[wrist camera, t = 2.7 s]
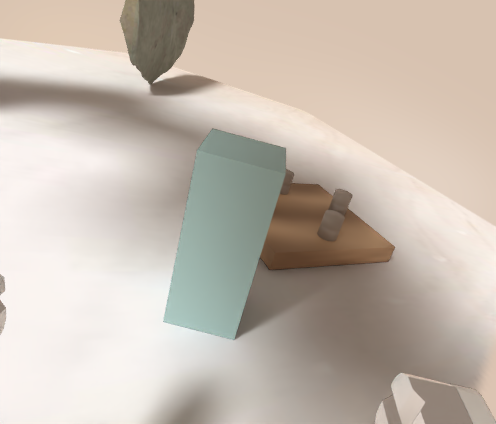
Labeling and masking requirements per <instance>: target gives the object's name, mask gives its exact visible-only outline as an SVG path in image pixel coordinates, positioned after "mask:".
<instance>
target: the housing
mask: <svg viewBox="0 0 496 424" xmlns="http://www.w3.org/2000/svg"><path fill="white" fill-rule="evenodd" d="M293 176H294V173H293V172H291V171H289V170H286V174H285V178H284V181H283V184H282V187H281V190H280V194H279V197H278V200H277V203H276V207H275V210H274V213H273V216H272V220H271V223H270V226H269V229H268V232H267V236H266V239H265V242H264V245H263V249H262V252H261V255H260V258H261V259H262V260H263V262H264V263H265V264H266V266H267V267H268V268H269V270H276V269H290V268H304V267H318V266H332V265H346V264H360V263H374V262H388V261H389V259H390V257H391V255H392V253H393V251H394V249H395V247H394V246H393V245H392V244H391V243H390V242H388V241H387V240H386V239H385V238H383V237H382V236H381V235H380V234H379V233H377V232H376V231H375V230H374V229H372V228H371V227H370V226H369V225H367V224H366V223H365V222H364V221H363V220H361V219H360V218H359V217H358V216H356V215H355V214H354V213H353V212H352V211H350V210H349V209H348V205H349V203H350V200H351V198H352V194H351V193H349V192H348V191H345V190H342V189H336V190H335V193H334V195H333V196H332V195H331V194H329V193H328V192H327V191H326V190H324V189H323V188H322V187H321V186H320V185H318V184H298V183H291V182H292V179H293Z"/></svg>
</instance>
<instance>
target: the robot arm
mask: <svg viewBox="0 0 496 424" xmlns="http://www.w3.org/2000/svg"><path fill="white" fill-rule="evenodd" d="M4 291H5V282H4V277H3V276H2V275H0V295H1V294H2V293H3V292H4ZM5 320H6V307H5V306H4V305H3V303H2V302H1V301H0V335H1V333H2V331H3V329H4V325H5ZM391 388H392V392H393V395H392V396H390V397H388V398H386V399H384V400H382V402H381V404H380V406H379V408H378V410H377V412H376V418H375V424H496V421H495V419H494V417H493V416H492V414H491V412H490V410H489V408H488V406H487V404H486V403H485V401H484V399H483V397H482V395H481V394H480V393H478V392H477V391H476V390H475V389H471V388H467V387H462V386H458V385H454V384H447V383H444V382H439V381H435V380H431V379H427V378H423V377H418V376H414V375H410V374H406V373H402V372H401V373H400V374H398V375H397V376H396V377H395V379H394V380H393V382H392V384H391Z"/></svg>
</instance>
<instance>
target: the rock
mask: <svg viewBox="0 0 496 424" xmlns="http://www.w3.org/2000/svg"><path fill="white" fill-rule="evenodd" d="M193 21H194V0H126V1H125V5H124V8H123V12H122V15H121V18H120V22H121V26H122V29H123V32H124V36H125V40H126V44H127V48H128V53H129V56H130V61H131V63H132V65H135V66H136V68H137V69H138V70H139V71H140V72H141V74H142V77H143V78H144V79H145V80H147V81H148V83H149V85H150V84H152V83H153V82H154V81H155V80H156V79H157V78H158V77H159V76H160V75H162V74H163V73H165V72H167V71H168V70H169V69H170V68H171V67H172V66H173V64H174V63H175V61H176V60H177V59H178V58H179V57H180V55H181V54H182V51H183V49H184V47H185V44H186V40H187V37H188V33H189V31H190V28H191V27H192V24H193Z"/></svg>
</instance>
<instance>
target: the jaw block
mask: <svg viewBox="0 0 496 424" xmlns="http://www.w3.org/2000/svg"><path fill="white" fill-rule="evenodd" d="M285 174H286V148H283V147H280V146H276V145H272V144H268V143H265V142H261V141H257V140H254V139H250V138H246V137H242V136H239V135H235V134H231V133H227V132H224V131H220V130H216V129H212V130H211V131H210V133H209V134H208V136H207V137H206V138H205V140H204V141H203V143H202V144H201V145H200V147H199V148H198V150H197V153H196V158H195V164H194V169H193V174H192V179H191V184H190V189H189V194H188V199H187V204H186V209H185V214H184V219H183V224H182V229H181V234H180V240H179V245H178V250H177V255H176V260H175V265H174V270H173V275H172V280H171V285H170V290H169V295H168V300H167V305H166V310H165V316H164V321H163V322H166V323H170V324H174V325H178V326H182V327H186V328H190V329H194V330H198V331H201V332H205V333H209V334H213V335H217V336H221V337H225V338H229V339H233V340H234V339H235V336H236V332H237V329H238V326H239V323H240V320H241V316H242V313H243V310H244V307H245V303H246V300H247V297H248V294H249V291H250V287H251V284H252V281H253V278H254V274H255V271H256V268H257V265H258V261H259V258H260V255H261V252H262V249H263V245H264V242H265V239H266V236H267V232H268V229H269V226H270V223H271V220H272V216H273V213H274V210H275V207H276V203H277V200H278V197H279V194H280V190H281V187H282V184H283V181H284V178H285Z"/></svg>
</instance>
